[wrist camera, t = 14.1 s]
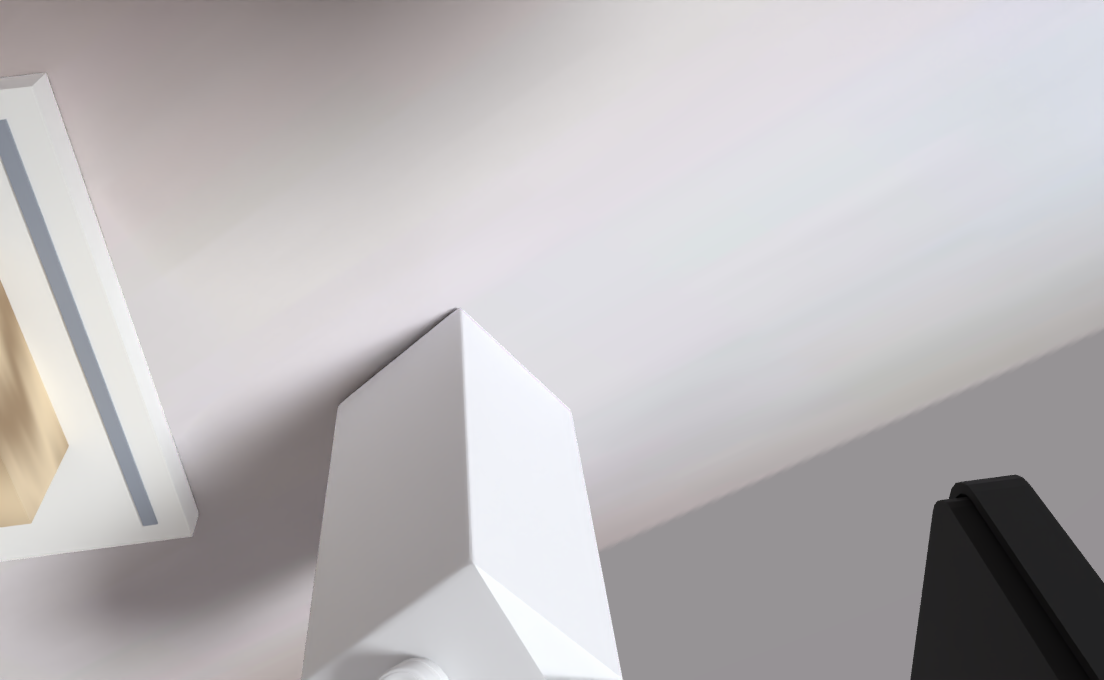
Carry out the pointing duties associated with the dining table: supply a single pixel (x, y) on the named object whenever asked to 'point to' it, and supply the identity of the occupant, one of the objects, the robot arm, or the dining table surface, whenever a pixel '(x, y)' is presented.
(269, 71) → the dining table surface
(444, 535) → the milk carton
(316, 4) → the dining table surface
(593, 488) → the dining table surface
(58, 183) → the white cutting board
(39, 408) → the oak plinth
